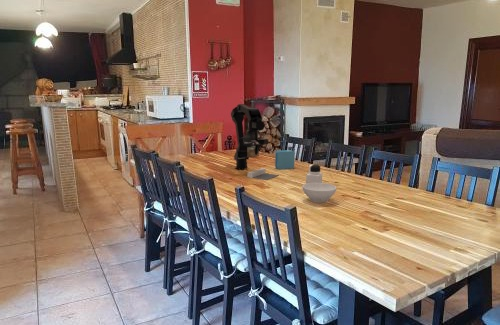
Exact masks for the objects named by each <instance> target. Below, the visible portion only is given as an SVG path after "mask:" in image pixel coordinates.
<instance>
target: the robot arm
mask: <svg viewBox="0 0 500 325" xmlns="http://www.w3.org/2000/svg"><path fill="white" fill-rule="evenodd" d="M245 116H246V117H247V122H248V130H247V132H246V134H245V133H244V125H243V124H244V123H243V122H244V119H245ZM230 118H231V120H232V122H233V123H234V125H235V132H236V141H237V147H236V150H235V154H234V156H233V159H234V160H235V162H236V165H235V166H236V167H234V169H235V170H246V169H248V161H247V160H250V159H249V158H250V157H247V147H252V146H255V154H256V155H257V154H258V151H259V152H260V149H261V147H262V146H263V145H267V144H269V139H268V138H260V137H259V133H260V131H263V130H265V128H266V127H265V126H266V124H265V123H264V121H263V116H262V114H261V111H260V109H259V108H253V107H250V106H248V105H246V104H244V103H240V104H237V106H235V107H234V108H232V110H231V111H230ZM253 143H254V144H253Z"/></svg>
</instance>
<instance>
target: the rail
mask: <svg viewBox="0 0 500 325" xmlns="http://www.w3.org/2000/svg"><path fill="white" fill-rule="evenodd" d="M266 170H267V169H266V168H264V167H263V168H262V167H261V168H257V169H255V170H252V171H249V172H247V178H249V179H254V178H253V177H255V176H258V175H261V174H264V173H267V172H266Z"/></svg>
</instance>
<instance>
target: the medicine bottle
mask: <svg viewBox="0 0 500 325" xmlns="http://www.w3.org/2000/svg"><path fill="white" fill-rule="evenodd" d="M307 183H323V173H321V165H319V164H310V165H308V173H307V174H306V176H305V184H307Z"/></svg>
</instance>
